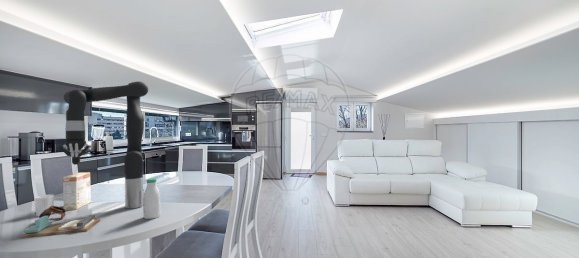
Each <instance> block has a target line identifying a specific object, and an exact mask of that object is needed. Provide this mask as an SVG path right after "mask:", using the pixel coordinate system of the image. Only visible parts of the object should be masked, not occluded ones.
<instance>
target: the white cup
mask: <svg viewBox="0 0 579 258" xmlns="http://www.w3.org/2000/svg"><path fill="white" fill-rule="evenodd" d="M33 199H34V210H35V217H39V216H40V214H41V213H42V212H43V211H44V210H46V209H48V208H49V207H50V206H55V205H54V203H55V194H52V193H51V194H50V193H49V194H42V195H38V196H35V197H34V198H33ZM53 214H54V213H53V212H52V213H51V215H53Z"/></svg>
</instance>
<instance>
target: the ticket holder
mask: <svg viewBox="0 0 579 258" xmlns="http://www.w3.org/2000/svg"><path fill="white" fill-rule="evenodd" d="M99 222H101V219H100V218H99V219H96V213H95V214H89V215H87V216H86V217H84V218H83V219H75V220H69V221H66V222H59V223H58V222H56V223H51V225H49V226H48V227H46V228H44V229H42V230H40V231H39V232H32V233H23V234H22V235H20V238H21V239H24V238H25V237H27V238H35V237H45V236H52V235H54V236H55V235H62V234H72V233H80V232H81V233H82V232H88V231H90V229H92V228H93V227H94V226H96V225H97V224H98V223H99ZM23 237H24V238H23ZM25 239H26V238H25Z"/></svg>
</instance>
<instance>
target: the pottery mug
mask: <svg viewBox="0 0 579 258" xmlns="http://www.w3.org/2000/svg"><path fill="white" fill-rule="evenodd" d="M52 212H53V213H52ZM66 212H67V210H65V209H64V207H63V208H62V207H60V206H57V205H54V206H50V207H49V208H48V209H46V210H44V211H43V212H42V213H41V214H40V216H38V217H39V218H41V217H43V216H48V219H49V218H50V216H51V215H52V214H58V215H60V218H59V219H60V220H63V219H64V218H65V216H66ZM51 213H52V214H51ZM39 218H38V219H39Z"/></svg>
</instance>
